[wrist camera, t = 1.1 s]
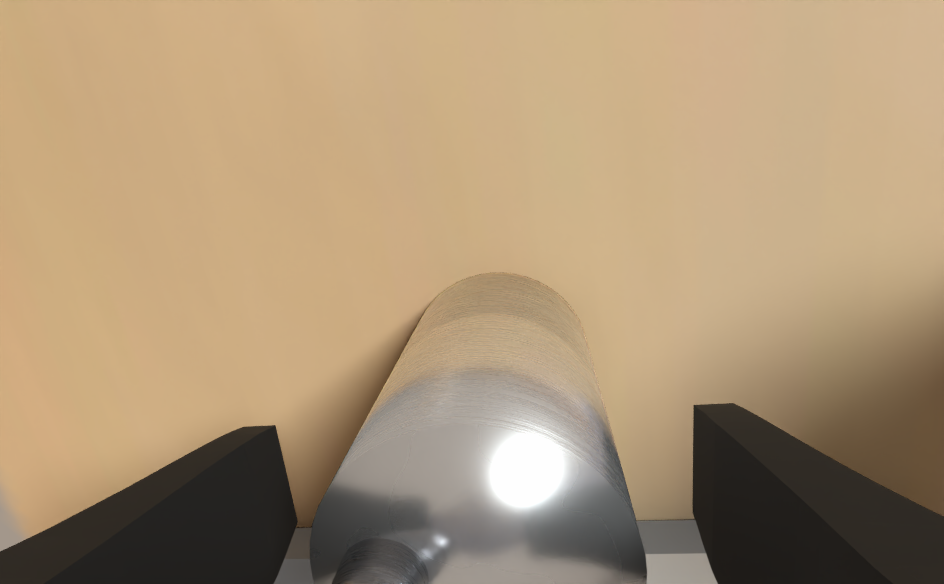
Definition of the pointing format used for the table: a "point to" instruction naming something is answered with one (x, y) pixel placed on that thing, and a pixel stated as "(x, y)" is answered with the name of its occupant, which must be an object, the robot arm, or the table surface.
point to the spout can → (484, 456)
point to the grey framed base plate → (665, 541)
